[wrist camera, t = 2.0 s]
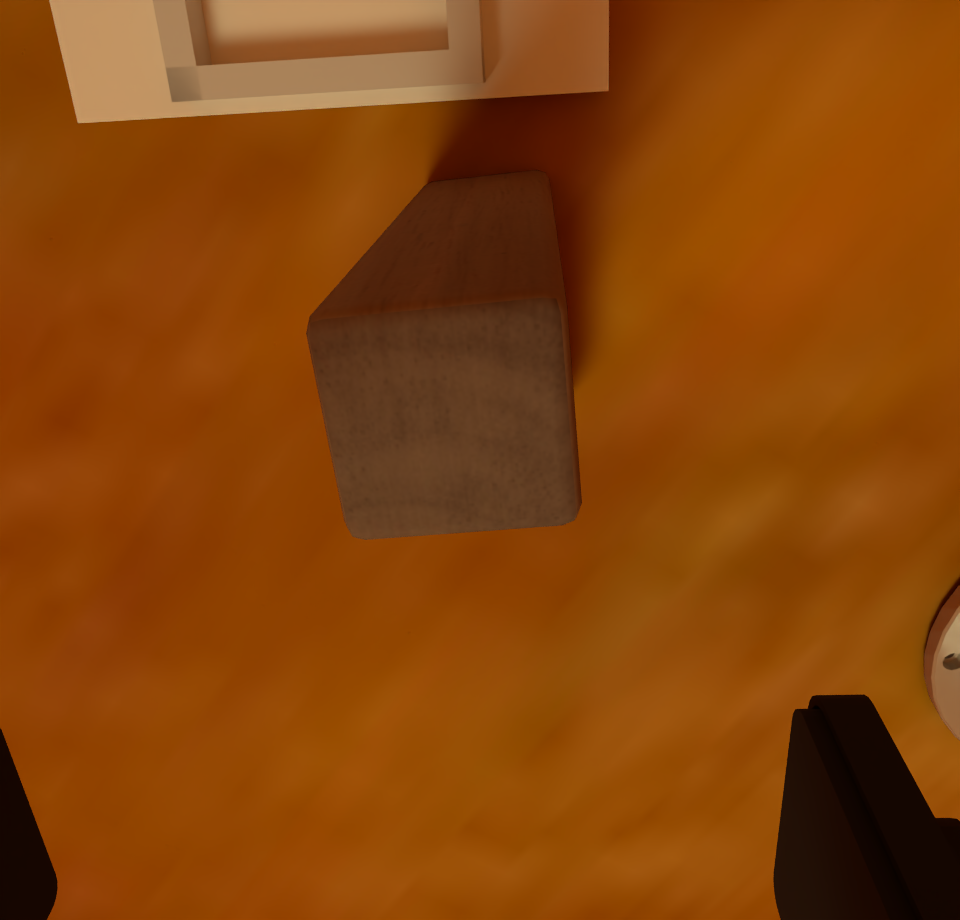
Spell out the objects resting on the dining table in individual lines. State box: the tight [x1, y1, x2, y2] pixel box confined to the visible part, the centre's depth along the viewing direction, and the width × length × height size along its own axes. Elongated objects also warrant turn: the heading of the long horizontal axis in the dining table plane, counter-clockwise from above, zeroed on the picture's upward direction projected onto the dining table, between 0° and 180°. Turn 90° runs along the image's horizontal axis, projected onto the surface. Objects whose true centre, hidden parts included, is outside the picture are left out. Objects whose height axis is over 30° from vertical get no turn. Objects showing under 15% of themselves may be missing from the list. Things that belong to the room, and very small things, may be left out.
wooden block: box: [306, 170, 582, 540], centre depth 24 cm, size 9×4×18 cm, turn 7°
